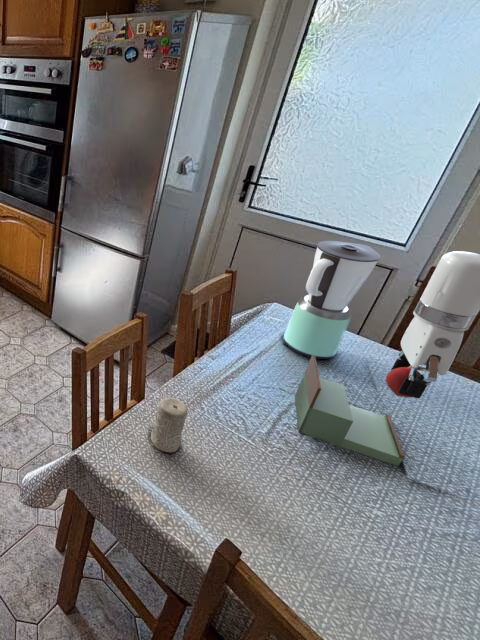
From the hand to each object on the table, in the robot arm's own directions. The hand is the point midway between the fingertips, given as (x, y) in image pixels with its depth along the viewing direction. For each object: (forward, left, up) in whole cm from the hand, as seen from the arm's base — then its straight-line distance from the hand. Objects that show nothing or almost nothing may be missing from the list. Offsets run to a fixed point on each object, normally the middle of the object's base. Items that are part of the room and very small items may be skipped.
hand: (404, 384), depth 87 cm
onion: (0, 0, -3) cm, 3 cm away
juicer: (+9, -37, -20) cm, 43 cm away
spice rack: (+4, -4, -19) cm, 20 cm away
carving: (+40, +24, -20) cm, 51 cm away
